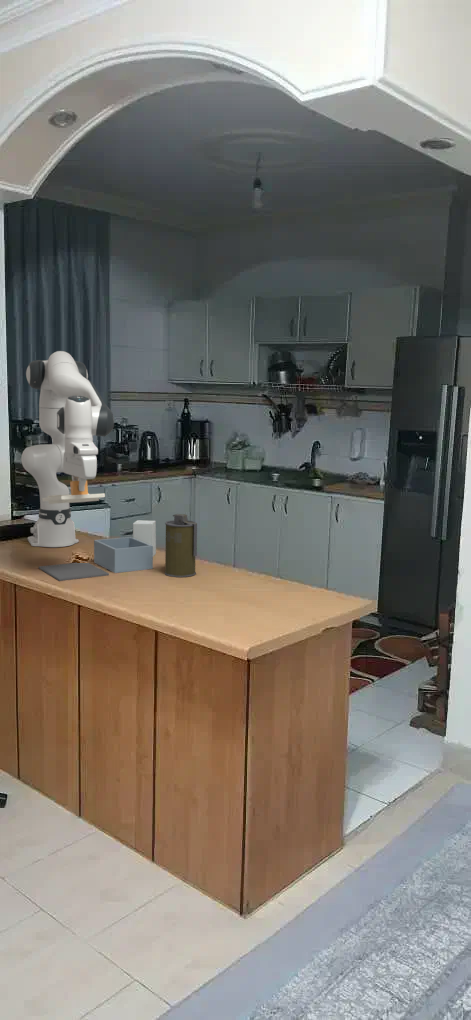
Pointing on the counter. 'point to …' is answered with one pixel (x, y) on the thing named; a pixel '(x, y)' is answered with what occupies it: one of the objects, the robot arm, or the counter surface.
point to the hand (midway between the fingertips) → (79, 490)
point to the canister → (180, 547)
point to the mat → (73, 571)
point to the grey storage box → (123, 554)
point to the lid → (74, 495)
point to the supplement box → (145, 532)
